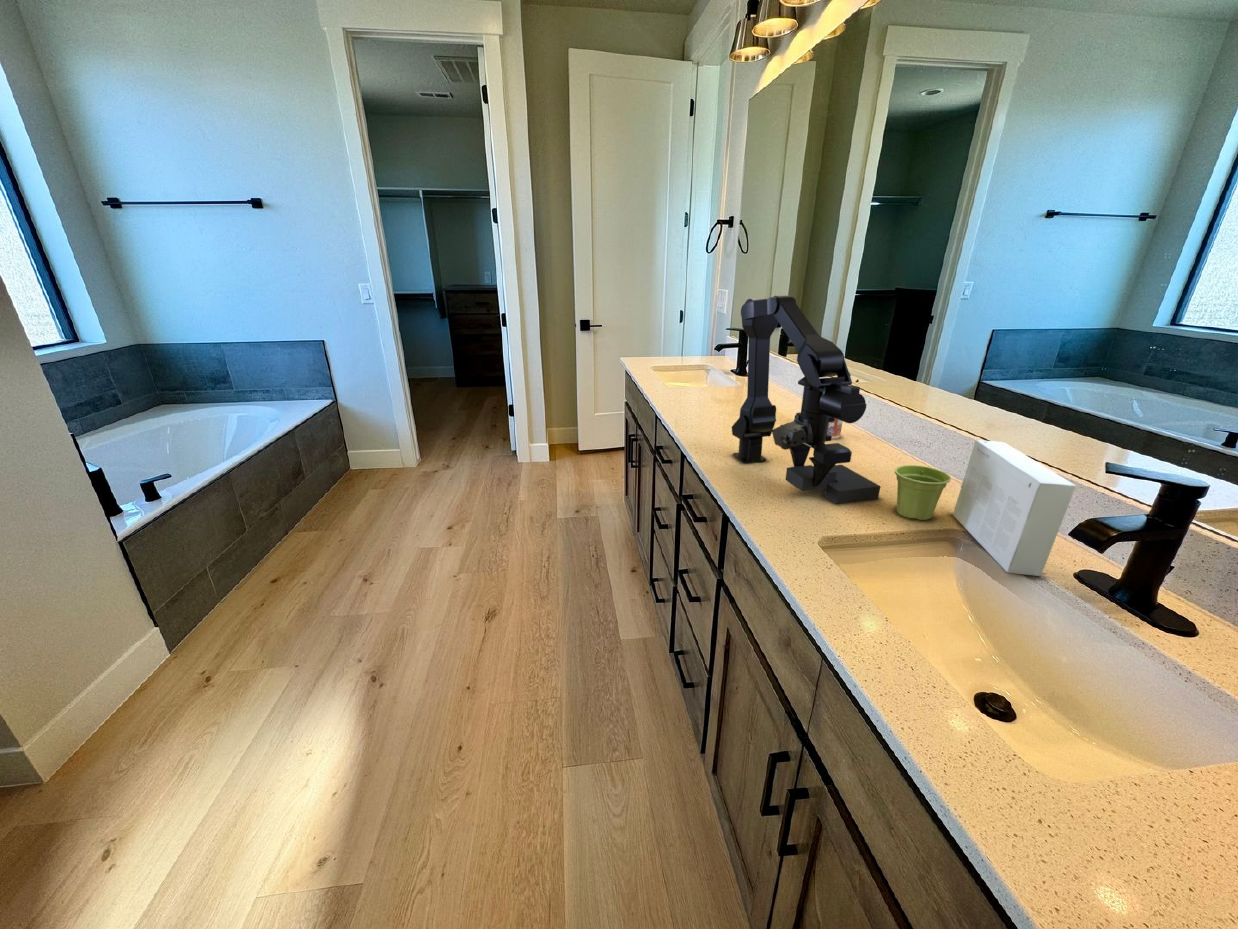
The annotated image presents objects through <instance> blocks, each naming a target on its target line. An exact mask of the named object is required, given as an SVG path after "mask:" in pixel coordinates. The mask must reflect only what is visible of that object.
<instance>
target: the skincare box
mask: <svg viewBox="0 0 1238 929" xmlns="http://www.w3.org/2000/svg"><path fill="white" fill-rule="evenodd" d="M1076 488H1077V485H1076V484H1074V483H1073V482H1070V480H1068V479H1066V478H1064V477H1063V476H1061V475H1059V474H1057V473H1056V472H1054V471H1053V470H1052V469H1049V468H1048V467H1046V466H1045V465H1043V464H1041V463H1040V462H1038V461H1036V460H1034V459H1033V458H1031V457H1029V456H1028V455H1026V454H1024V453H1022V452H1021V451H1019V450H1018V449H1016V448H1014V447H1013V446H1011V445H1010V444H1008V443H1006V442H1004V441H994V440H982V439H981V440H980V439H974V443H973V447H972V450H971V453H970V457H969V460H968V462H967V467H966V470H965V473H964V476H963V478H962V481H961V485H960V490H959V494H958V496H957V500H956V503H955V506H954V509H953V512H952V515H953V517H954V518H955V519H956V521H957V522H959V523H960V524H961V525H962V526H963V527H964V529H965V530H966V531H967V532H968V533H969V534H970V535H971V536H972V537H973V538H974V539H975V540H976V542H978V544H980V545H981V547H983V549H984V550H985V551H986V552H987V553H988V554H989V555H990V556H991V557H992V559H994V560H995V561H996V562H997V563H998V565H999V566H1000V567H1001V568H1002V569H1003V570H1004V571H1005V572H1006V573H1008V574H1018V575H1028V576H1037V577H1041V576H1042V575H1043V572H1044V570H1045V567H1046V564H1047V561H1048V559H1049V556H1050V554H1051V552H1052V549H1053V547H1054V543H1055V541H1056V538H1057V536H1058V533H1059V530H1060V529H1061V526H1062V523H1063V520H1064V518H1065V516H1066V513H1067V510H1068V507H1069V506H1070V502H1071V499H1072V497H1073V495H1074V493H1075V489H1076Z"/></svg>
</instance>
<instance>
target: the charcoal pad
mask: <svg viewBox="0 0 1238 929" xmlns="http://www.w3.org/2000/svg"><path fill="white" fill-rule="evenodd" d="M832 469H833V470H835V471H836V472H837V475H836V481H835V482H834V483H828V484H827V489H824V497H825V498H827V499H829V500H830V501H831V502H833V503H835V505H840V504H849V503H856V502H857V503H858V502H865V501H872V500H878V499H879V497H880V491H881V485H879V484H877V483H876V482H874V481H872V480H870V479H869V478H867V477H865V476H863V475H861V474H859V473H858V472H856V471H854V470H852V469H851V468H849V467H847V466H845V465H844V464H836V465H835V466H834V467H833V468H832Z"/></svg>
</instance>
